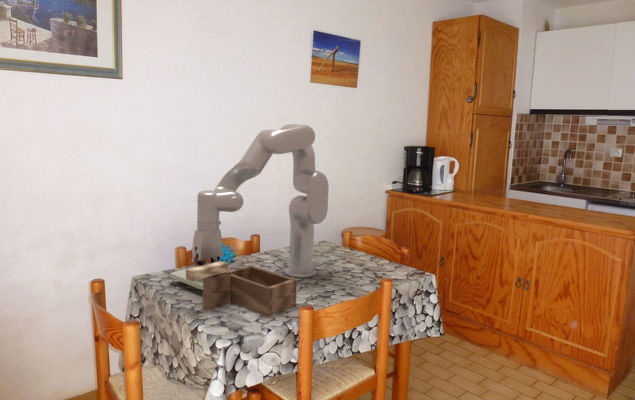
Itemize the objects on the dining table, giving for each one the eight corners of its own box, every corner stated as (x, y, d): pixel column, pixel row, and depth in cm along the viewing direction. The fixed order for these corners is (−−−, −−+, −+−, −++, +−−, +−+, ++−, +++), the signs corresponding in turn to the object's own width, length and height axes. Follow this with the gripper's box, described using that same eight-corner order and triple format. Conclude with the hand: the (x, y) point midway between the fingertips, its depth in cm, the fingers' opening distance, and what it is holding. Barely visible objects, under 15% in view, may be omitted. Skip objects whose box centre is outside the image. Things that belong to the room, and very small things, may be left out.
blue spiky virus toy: (211, 262, 195) (212, 241, 201) (209, 269, 200) (209, 248, 206) (238, 264, 199) (237, 244, 205) (234, 271, 204) (234, 250, 209)
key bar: (221, 269, 156) (221, 260, 156) (227, 271, 154) (227, 262, 154) (186, 279, 145) (186, 269, 145) (191, 281, 144) (192, 271, 143)
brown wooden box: (250, 289, 171) (251, 261, 169) (295, 305, 157) (297, 275, 155) (199, 305, 153) (199, 274, 152) (245, 326, 140) (245, 292, 138)
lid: (199, 269, 182) (199, 254, 181) (237, 283, 169) (237, 267, 168) (169, 277, 172) (169, 261, 171) (208, 292, 159) (208, 275, 158)
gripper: (219, 221, 174) (219, 269, 177) (181, 227, 162) (181, 279, 165) (233, 224, 170) (232, 274, 173) (195, 231, 157) (195, 284, 160)
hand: (207, 275), depth 169 cm, fingers closed on lid, 3 cm apart
